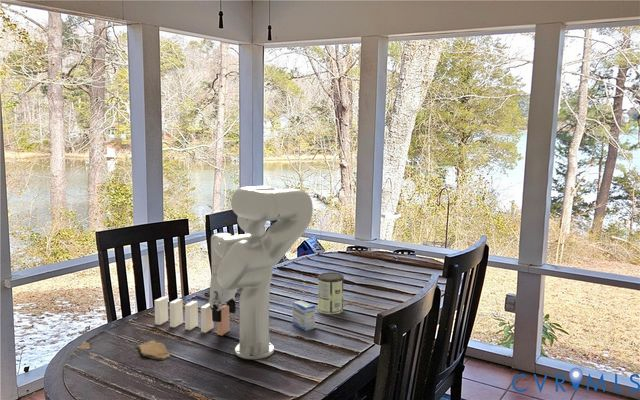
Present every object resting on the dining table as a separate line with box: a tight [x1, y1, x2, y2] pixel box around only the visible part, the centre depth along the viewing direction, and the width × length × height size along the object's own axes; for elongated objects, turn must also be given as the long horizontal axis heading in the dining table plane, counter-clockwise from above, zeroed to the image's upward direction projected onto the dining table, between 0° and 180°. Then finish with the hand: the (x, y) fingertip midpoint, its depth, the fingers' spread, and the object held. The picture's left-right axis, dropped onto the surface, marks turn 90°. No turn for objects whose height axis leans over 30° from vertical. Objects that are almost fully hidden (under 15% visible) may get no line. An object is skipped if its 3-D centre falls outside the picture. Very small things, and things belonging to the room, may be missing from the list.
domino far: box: [154, 296, 169, 326], centre depth 188 cm, size 2×5×9 cm, turn 160°
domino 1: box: [168, 298, 184, 328], centre depth 186 cm, size 2×5×9 cm, turn 160°
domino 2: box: [184, 300, 199, 331], centre depth 184 cm, size 2×5×9 cm, turn 160°
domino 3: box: [200, 302, 215, 334], centre depth 182 cm, size 2×5×9 cm, turn 160°
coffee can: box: [317, 272, 345, 315], centre depth 203 cm, size 10×10×14 cm
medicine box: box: [291, 300, 316, 332], centre depth 186 cm, size 8×4×9 cm, turn 40°
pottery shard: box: [135, 340, 171, 361], centre depth 164 cm, size 8×3×15 cm
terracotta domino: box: [216, 304, 230, 336], centre depth 180 cm, size 2×5×9 cm, turn 160°
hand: (224, 316), depth 179 cm, fingers open, 9 cm apart
